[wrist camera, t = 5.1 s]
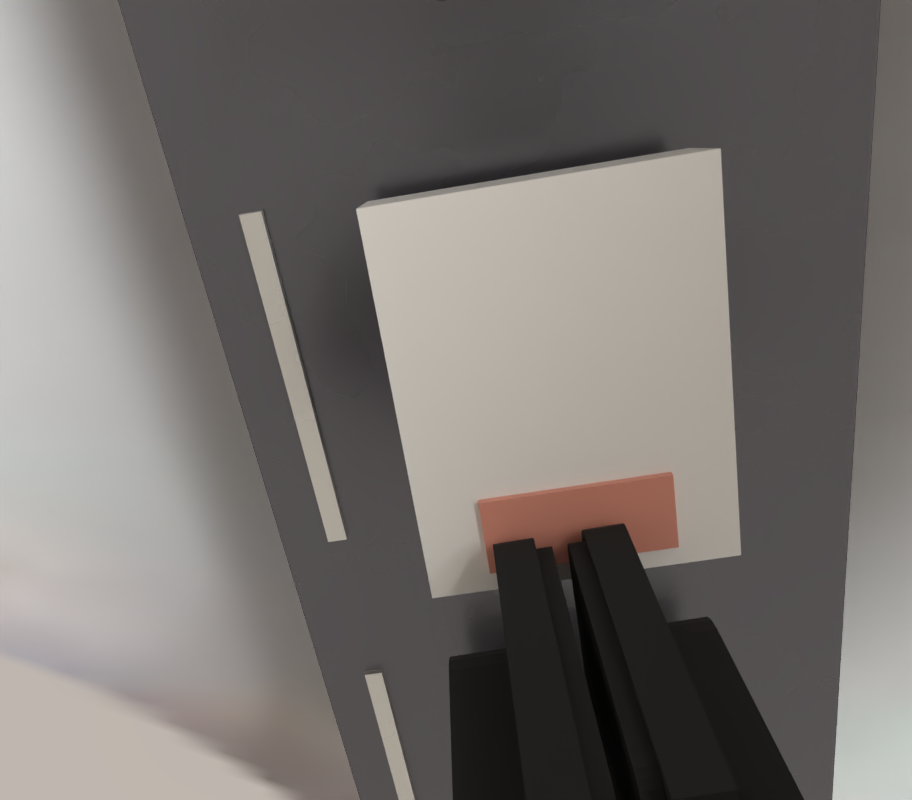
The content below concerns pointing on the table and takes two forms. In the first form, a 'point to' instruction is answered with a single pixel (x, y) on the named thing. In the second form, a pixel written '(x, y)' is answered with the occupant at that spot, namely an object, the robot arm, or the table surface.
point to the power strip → (498, 157)
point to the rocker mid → (561, 361)
